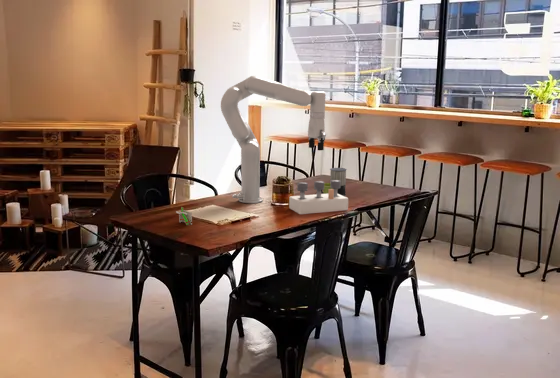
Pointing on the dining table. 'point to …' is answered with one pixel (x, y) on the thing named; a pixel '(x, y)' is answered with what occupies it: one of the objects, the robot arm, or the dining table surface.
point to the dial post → (331, 194)
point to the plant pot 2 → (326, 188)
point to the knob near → (302, 189)
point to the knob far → (335, 186)
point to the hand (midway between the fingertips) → (316, 148)
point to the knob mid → (319, 187)
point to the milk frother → (339, 175)
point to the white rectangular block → (318, 204)
